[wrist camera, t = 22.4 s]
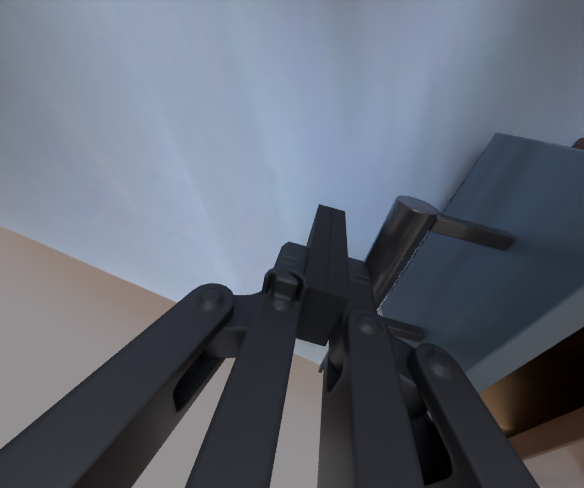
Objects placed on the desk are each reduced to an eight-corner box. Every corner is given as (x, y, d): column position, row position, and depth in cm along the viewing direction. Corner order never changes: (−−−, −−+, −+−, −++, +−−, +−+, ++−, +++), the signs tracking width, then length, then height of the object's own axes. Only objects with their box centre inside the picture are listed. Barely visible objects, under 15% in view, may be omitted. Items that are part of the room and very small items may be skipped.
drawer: (325, 292, 17) (319, 395, 11) (402, 108, 10) (495, 122, 4) (582, 362, 17) (721, 511, 11) (847, 219, 10) (1681, 415, 4)
